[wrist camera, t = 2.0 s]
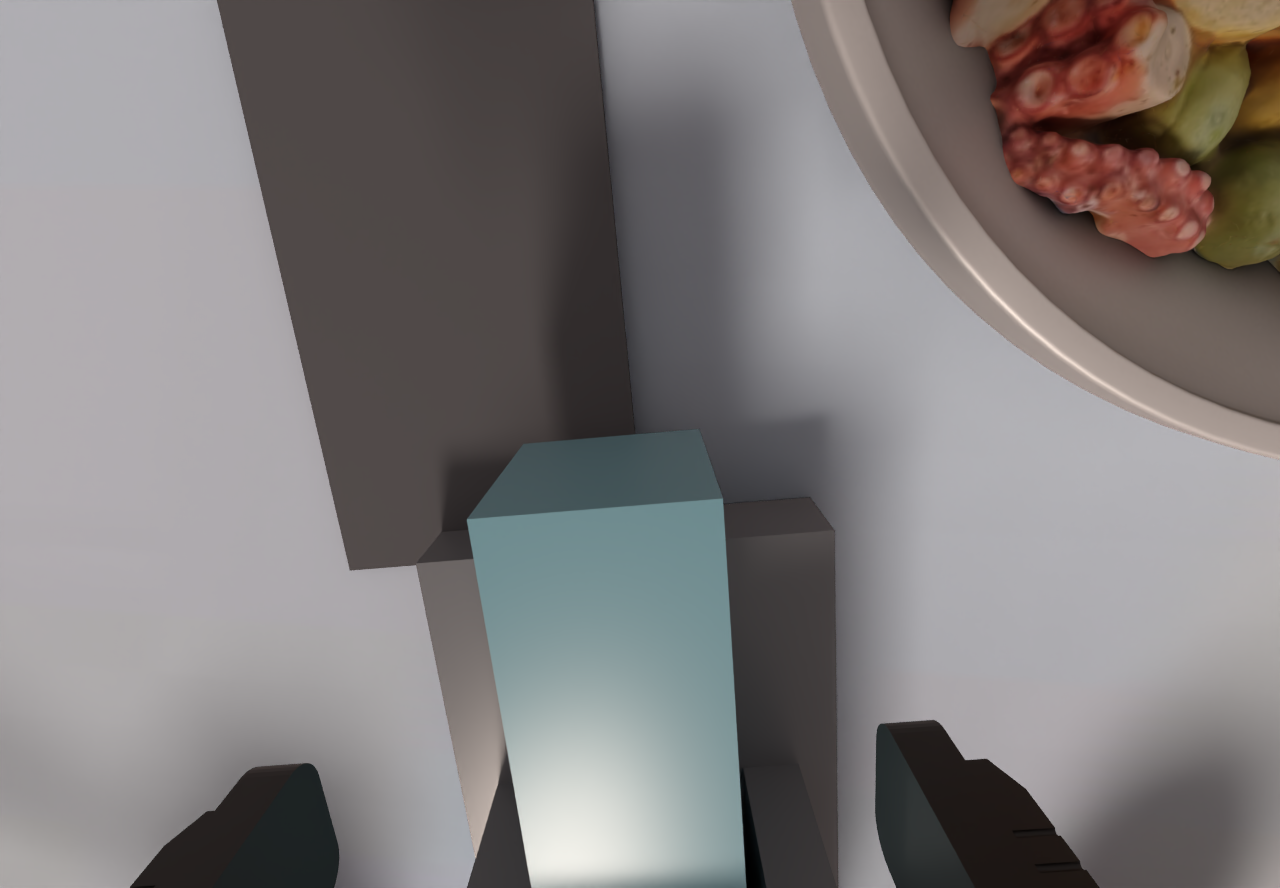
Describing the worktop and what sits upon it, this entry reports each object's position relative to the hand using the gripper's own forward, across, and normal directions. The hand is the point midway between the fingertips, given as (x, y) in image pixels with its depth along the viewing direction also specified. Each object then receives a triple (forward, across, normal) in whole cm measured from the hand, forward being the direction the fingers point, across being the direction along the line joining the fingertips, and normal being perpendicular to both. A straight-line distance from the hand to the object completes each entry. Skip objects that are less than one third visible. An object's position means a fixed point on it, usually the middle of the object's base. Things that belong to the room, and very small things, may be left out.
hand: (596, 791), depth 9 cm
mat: (+10, +4, -8) cm, 14 cm away
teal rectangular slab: (+8, 0, +4) cm, 8 cm away
